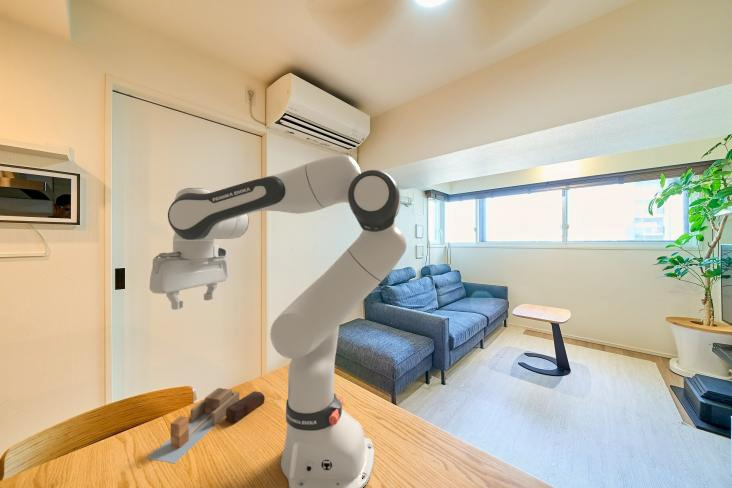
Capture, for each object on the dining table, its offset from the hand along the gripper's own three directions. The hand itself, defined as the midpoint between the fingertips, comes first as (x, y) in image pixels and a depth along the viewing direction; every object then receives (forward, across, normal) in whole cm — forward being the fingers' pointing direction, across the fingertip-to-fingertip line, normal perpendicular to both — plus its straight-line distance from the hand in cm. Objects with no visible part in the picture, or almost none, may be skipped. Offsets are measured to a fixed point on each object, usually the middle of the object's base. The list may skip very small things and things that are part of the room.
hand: (193, 304), depth 65 cm
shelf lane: (+36, +4, +2) cm, 36 cm away
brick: (+37, +12, -7) cm, 39 cm away
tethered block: (+35, +5, +2) cm, 36 cm away
